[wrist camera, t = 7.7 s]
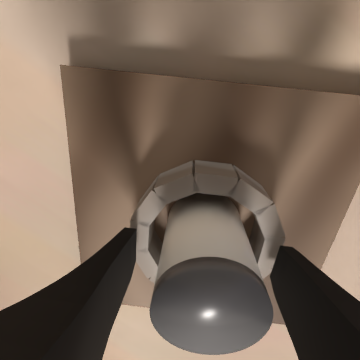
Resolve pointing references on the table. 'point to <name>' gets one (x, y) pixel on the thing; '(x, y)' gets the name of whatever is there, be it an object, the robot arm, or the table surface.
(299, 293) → the robot arm
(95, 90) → the board with ring socket
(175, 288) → the plug
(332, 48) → the table surface
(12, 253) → the table surface
